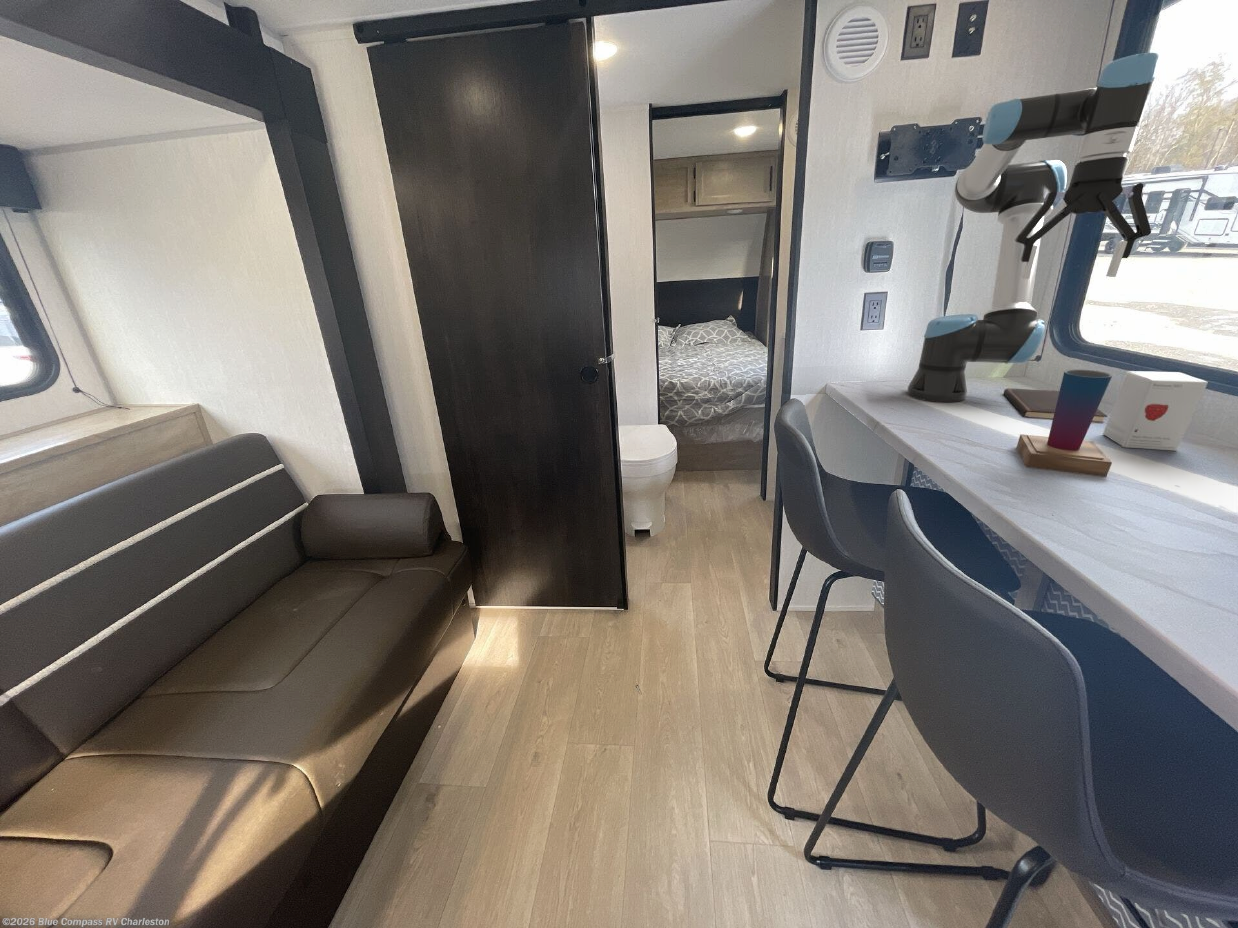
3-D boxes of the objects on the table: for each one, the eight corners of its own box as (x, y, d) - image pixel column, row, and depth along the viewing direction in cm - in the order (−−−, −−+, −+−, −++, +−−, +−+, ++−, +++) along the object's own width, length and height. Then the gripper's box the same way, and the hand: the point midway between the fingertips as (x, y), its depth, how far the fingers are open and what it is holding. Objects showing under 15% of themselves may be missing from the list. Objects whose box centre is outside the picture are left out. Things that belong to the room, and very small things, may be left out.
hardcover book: (1071, 399, 136) (1074, 391, 135) (1104, 424, 117) (1107, 415, 116) (1002, 395, 143) (1004, 388, 142) (1023, 418, 124) (1025, 410, 123)
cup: (1094, 452, 94) (1122, 377, 88) (1054, 451, 95) (1078, 377, 89) (1071, 440, 100) (1096, 369, 94) (1034, 439, 101) (1056, 369, 95)
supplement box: (1123, 448, 103) (1150, 379, 97) (1101, 434, 110) (1125, 370, 104) (1179, 451, 100) (1210, 381, 94) (1152, 437, 107) (1180, 371, 101)
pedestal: (1016, 446, 106) (1020, 433, 105) (1087, 454, 101) (1093, 439, 99) (1026, 466, 97) (1031, 452, 95) (1106, 476, 91) (1112, 460, 90)
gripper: (1023, 165, 94) (995, 280, 102) (1206, 145, 82) (1157, 276, 91) (1016, 170, 100) (990, 278, 108) (1186, 151, 88) (1142, 274, 96)
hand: (1066, 277), depth 99 cm, fingers open, 13 cm apart
